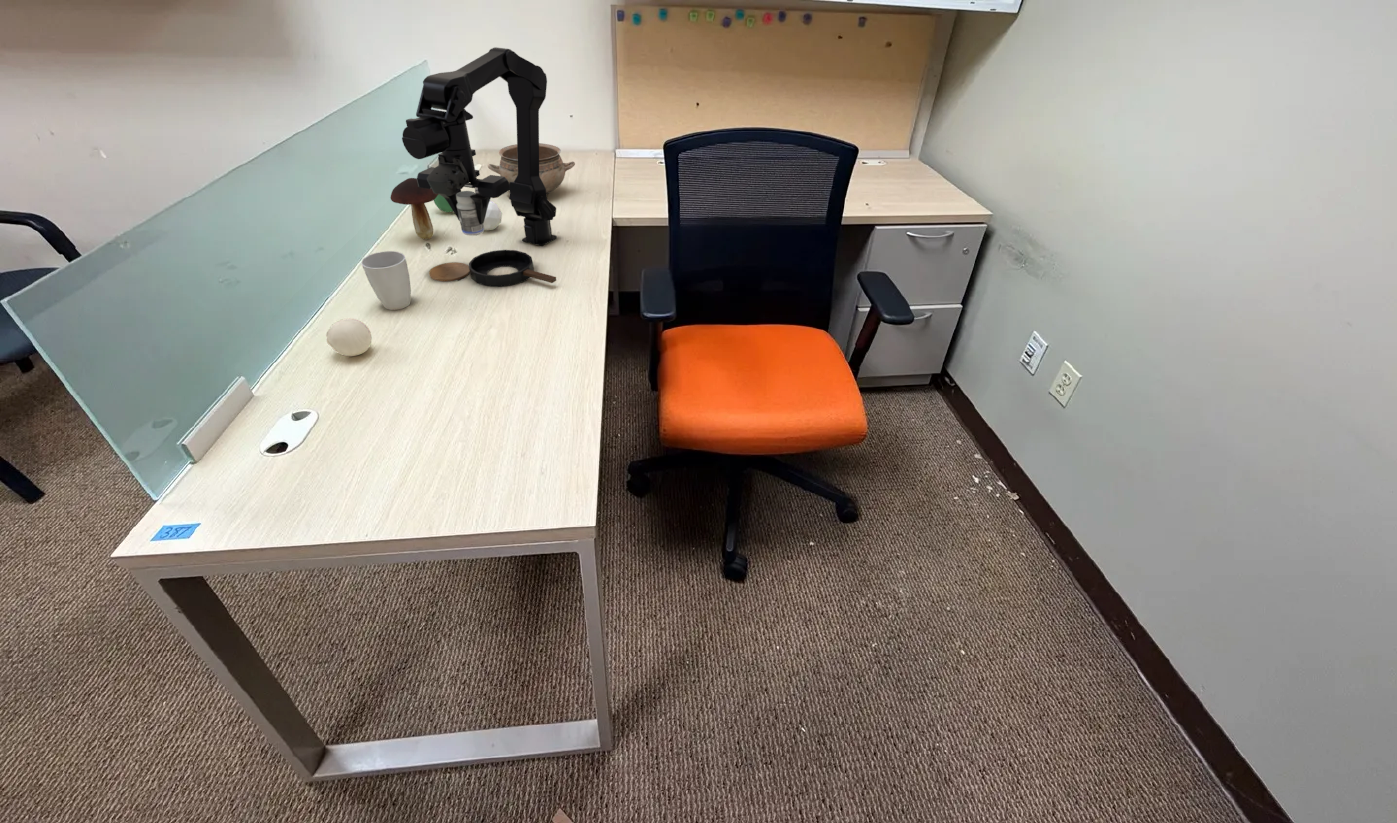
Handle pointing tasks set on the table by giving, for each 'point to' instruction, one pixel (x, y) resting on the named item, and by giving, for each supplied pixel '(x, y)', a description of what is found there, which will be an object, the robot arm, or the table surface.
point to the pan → (504, 258)
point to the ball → (492, 216)
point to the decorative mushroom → (416, 204)
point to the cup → (389, 278)
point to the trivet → (449, 271)
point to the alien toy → (442, 204)
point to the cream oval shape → (349, 337)
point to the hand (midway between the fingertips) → (471, 222)
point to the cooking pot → (548, 165)
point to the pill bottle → (468, 214)
